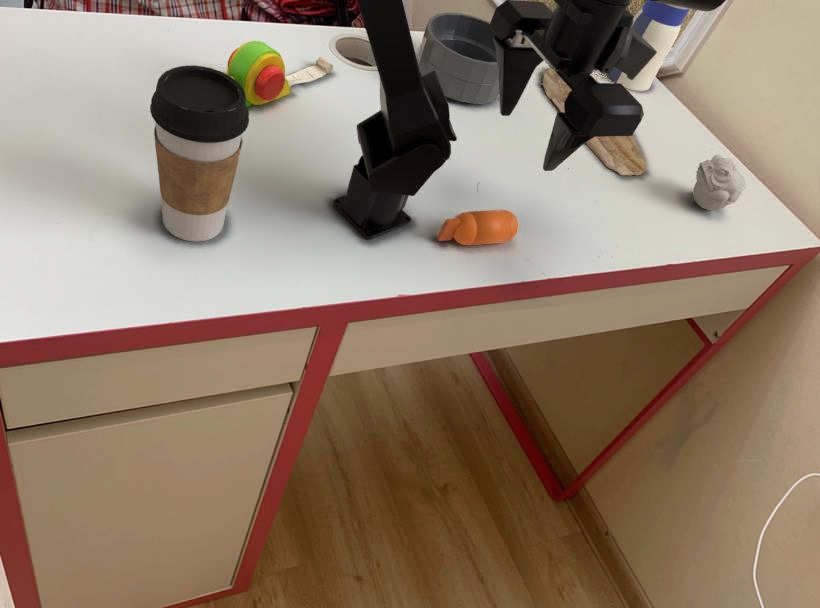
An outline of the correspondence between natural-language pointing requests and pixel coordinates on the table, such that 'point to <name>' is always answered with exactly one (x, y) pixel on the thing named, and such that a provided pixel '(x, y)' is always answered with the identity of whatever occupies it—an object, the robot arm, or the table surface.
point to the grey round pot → (461, 57)
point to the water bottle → (653, 40)
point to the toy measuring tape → (268, 72)
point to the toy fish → (480, 227)
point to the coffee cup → (197, 147)
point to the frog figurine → (717, 183)
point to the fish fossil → (610, 149)
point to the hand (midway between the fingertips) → (525, 141)
